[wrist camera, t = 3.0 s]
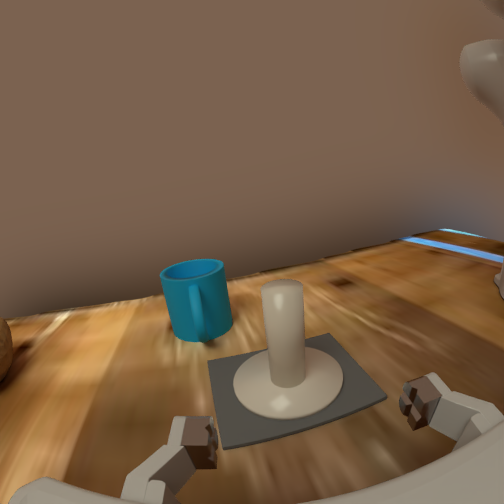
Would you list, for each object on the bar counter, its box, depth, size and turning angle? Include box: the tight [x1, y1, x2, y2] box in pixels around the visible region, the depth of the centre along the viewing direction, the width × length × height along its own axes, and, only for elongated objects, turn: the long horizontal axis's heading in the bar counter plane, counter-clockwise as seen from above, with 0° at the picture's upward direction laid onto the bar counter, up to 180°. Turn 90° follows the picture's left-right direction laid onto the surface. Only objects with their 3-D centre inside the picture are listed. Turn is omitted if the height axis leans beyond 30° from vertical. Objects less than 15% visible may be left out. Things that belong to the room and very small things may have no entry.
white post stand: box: [233, 279, 343, 421], centre depth 23 cm, size 10×10×10 cm
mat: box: [208, 333, 387, 450], centre depth 24 cm, size 14×12×1 cm
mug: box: [160, 259, 232, 343], centre depth 34 cm, size 12×8×8 cm
